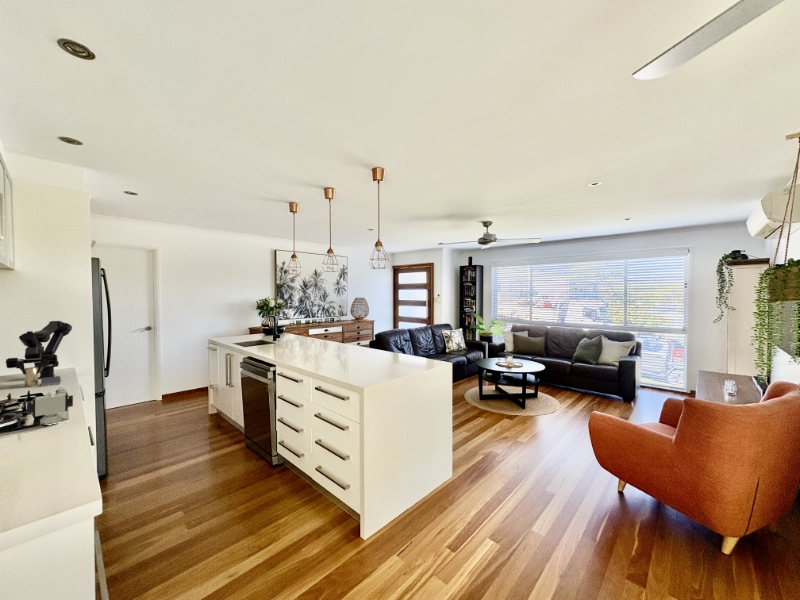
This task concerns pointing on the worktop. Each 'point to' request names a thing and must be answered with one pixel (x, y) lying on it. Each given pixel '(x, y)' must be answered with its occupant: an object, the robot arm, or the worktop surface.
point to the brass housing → (31, 376)
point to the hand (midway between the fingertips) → (31, 373)
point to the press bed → (50, 381)
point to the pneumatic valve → (50, 407)
